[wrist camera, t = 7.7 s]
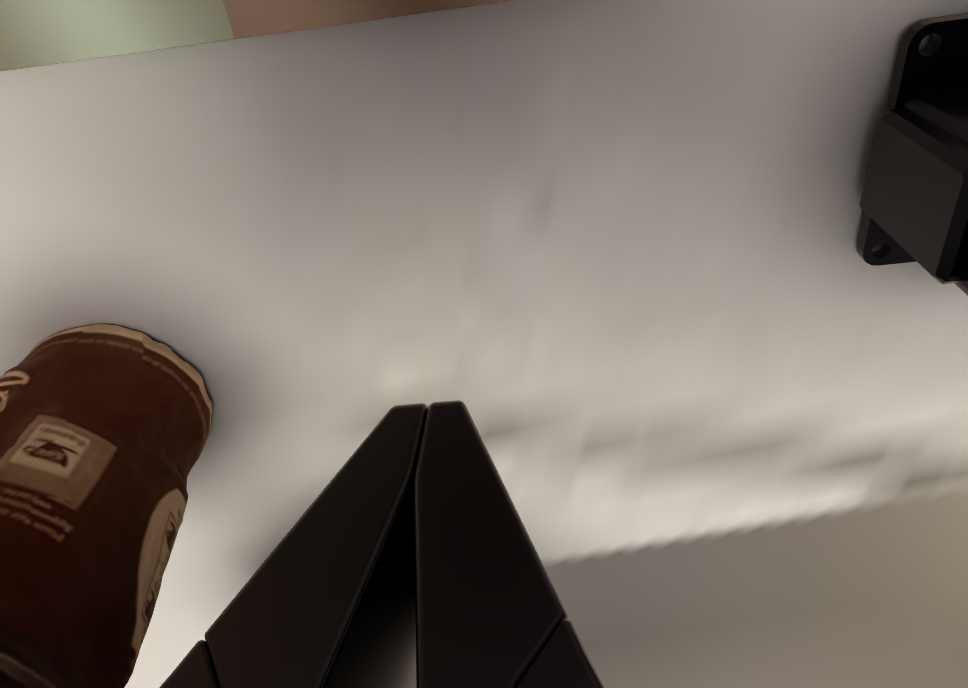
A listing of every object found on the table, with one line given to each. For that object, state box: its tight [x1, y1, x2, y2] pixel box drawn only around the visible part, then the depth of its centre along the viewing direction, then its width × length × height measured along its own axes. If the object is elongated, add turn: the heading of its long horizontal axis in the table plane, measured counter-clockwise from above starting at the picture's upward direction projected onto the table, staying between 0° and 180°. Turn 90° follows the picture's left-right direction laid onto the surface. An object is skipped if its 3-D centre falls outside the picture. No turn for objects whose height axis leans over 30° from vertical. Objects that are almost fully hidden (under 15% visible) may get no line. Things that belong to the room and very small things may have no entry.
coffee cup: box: [0, 324, 212, 688], centre depth 18 cm, size 9×8×13 cm
